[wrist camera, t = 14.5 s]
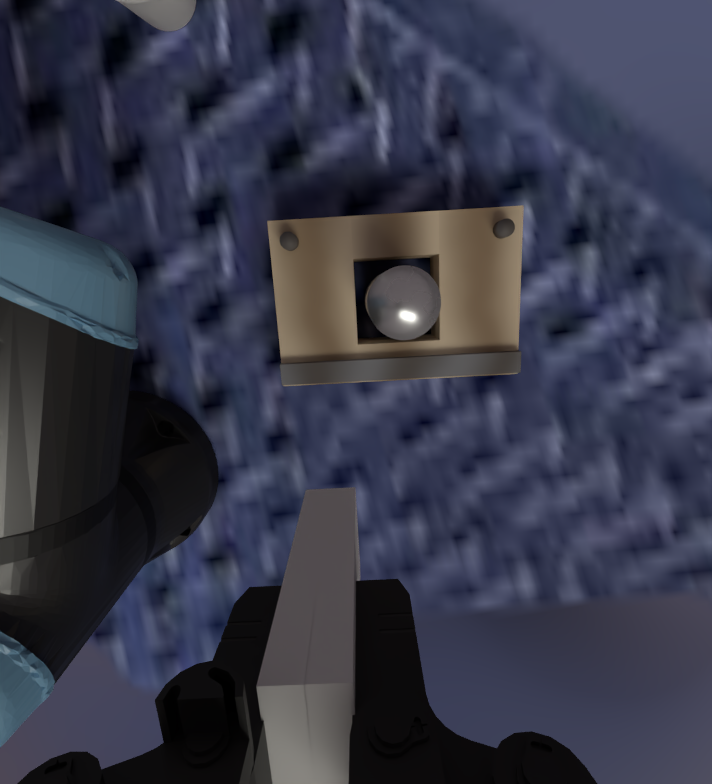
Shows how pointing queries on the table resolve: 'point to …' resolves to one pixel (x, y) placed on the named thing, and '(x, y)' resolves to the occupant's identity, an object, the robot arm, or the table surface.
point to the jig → (390, 242)
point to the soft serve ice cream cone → (163, 12)
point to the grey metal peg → (403, 302)
